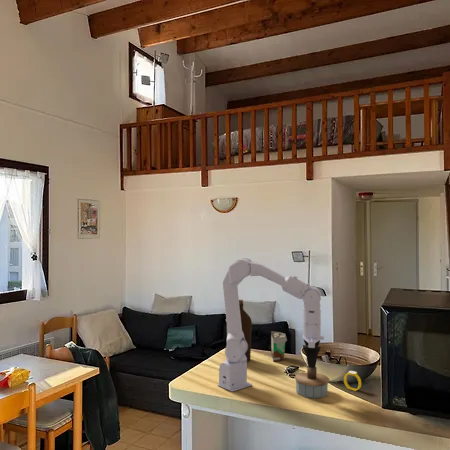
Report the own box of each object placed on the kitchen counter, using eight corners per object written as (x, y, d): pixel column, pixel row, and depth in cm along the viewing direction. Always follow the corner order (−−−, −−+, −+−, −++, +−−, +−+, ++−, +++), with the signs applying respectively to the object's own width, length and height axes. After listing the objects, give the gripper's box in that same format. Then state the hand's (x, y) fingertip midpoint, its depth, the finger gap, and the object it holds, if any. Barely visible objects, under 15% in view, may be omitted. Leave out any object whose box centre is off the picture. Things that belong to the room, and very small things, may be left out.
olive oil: (245, 355, 185) (245, 297, 185) (256, 362, 175) (256, 301, 176) (222, 358, 181) (222, 298, 181) (232, 365, 171) (232, 302, 172)
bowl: (314, 400, 136) (314, 388, 136) (290, 391, 143) (290, 379, 143) (333, 393, 142) (333, 381, 142) (309, 384, 150) (309, 373, 150)
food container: (288, 363, 175) (288, 338, 175) (273, 362, 175) (273, 338, 175) (285, 354, 187) (285, 331, 187) (270, 354, 187) (270, 331, 187)
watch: (362, 391, 145) (363, 374, 144) (357, 393, 143) (358, 376, 143) (346, 385, 149) (347, 368, 149) (342, 387, 147) (343, 370, 147)
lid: (314, 388, 135) (314, 374, 135) (288, 379, 144) (288, 366, 144) (335, 381, 142) (335, 367, 142) (309, 372, 151) (309, 360, 151)
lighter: (340, 380, 154) (340, 358, 154) (337, 381, 153) (337, 359, 153) (324, 375, 159) (324, 354, 160) (321, 376, 158) (321, 354, 159)
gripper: (324, 328, 135) (324, 371, 135) (323, 319, 149) (323, 358, 149) (301, 327, 137) (301, 370, 136) (303, 318, 151) (303, 357, 151)
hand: (311, 363), depth 143 cm, fingers open, 7 cm apart
